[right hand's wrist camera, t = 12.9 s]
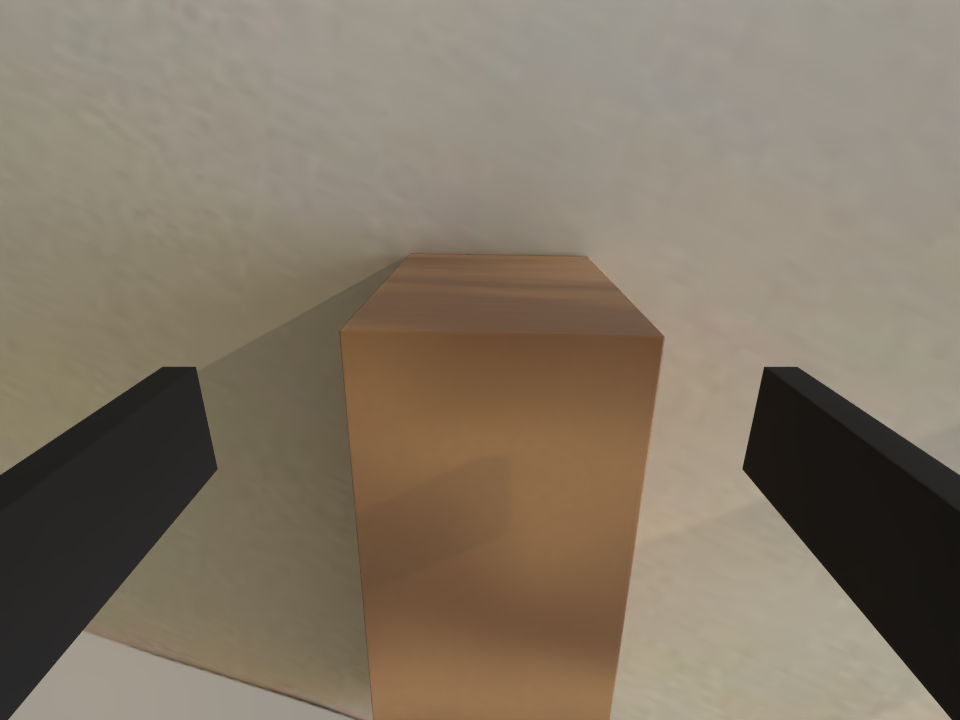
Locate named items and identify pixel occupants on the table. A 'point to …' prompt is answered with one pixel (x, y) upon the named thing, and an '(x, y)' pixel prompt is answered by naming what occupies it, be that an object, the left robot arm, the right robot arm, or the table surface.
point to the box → (497, 483)
